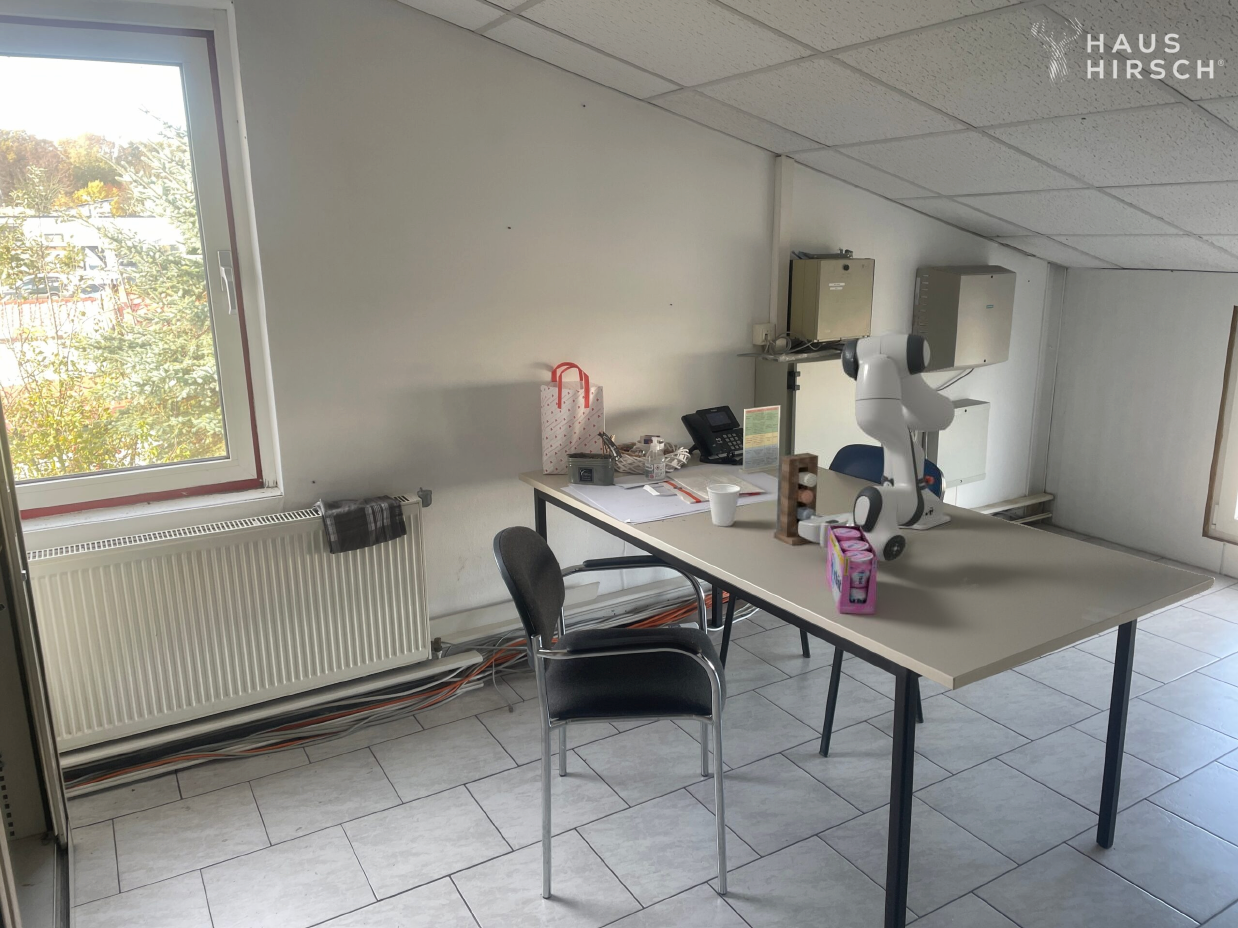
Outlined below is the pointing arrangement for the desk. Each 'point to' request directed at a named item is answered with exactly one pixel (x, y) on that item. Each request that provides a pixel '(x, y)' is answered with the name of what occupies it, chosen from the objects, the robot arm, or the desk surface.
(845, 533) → the gum box
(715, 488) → the cup
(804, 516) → the slate button
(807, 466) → the wooden dispenser tower
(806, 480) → the cream button
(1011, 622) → the desk surface
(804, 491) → the terracotta button
